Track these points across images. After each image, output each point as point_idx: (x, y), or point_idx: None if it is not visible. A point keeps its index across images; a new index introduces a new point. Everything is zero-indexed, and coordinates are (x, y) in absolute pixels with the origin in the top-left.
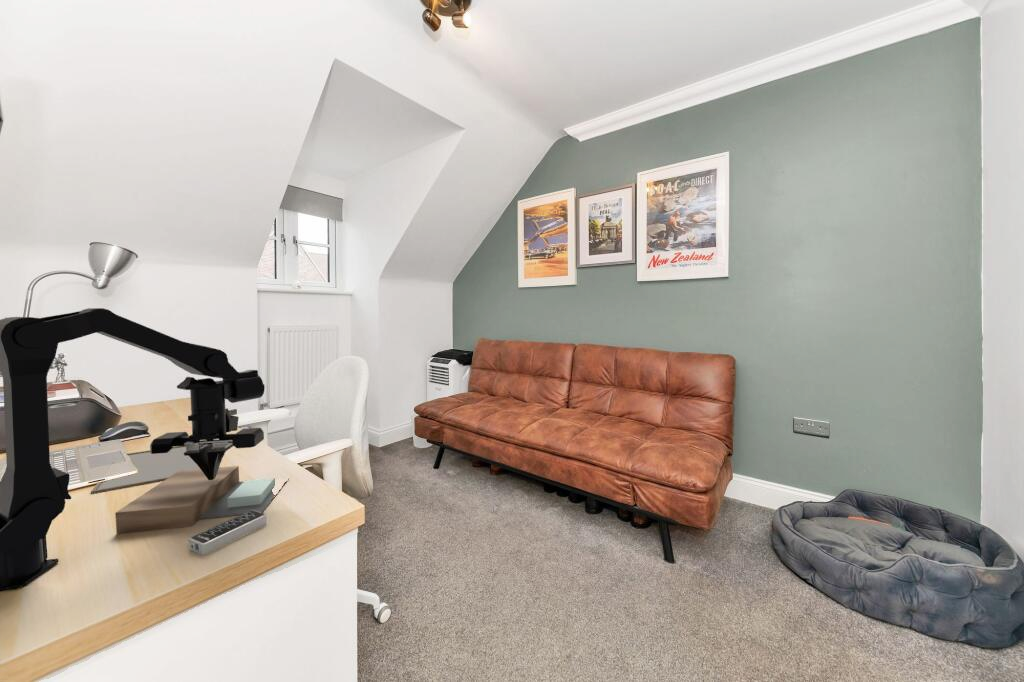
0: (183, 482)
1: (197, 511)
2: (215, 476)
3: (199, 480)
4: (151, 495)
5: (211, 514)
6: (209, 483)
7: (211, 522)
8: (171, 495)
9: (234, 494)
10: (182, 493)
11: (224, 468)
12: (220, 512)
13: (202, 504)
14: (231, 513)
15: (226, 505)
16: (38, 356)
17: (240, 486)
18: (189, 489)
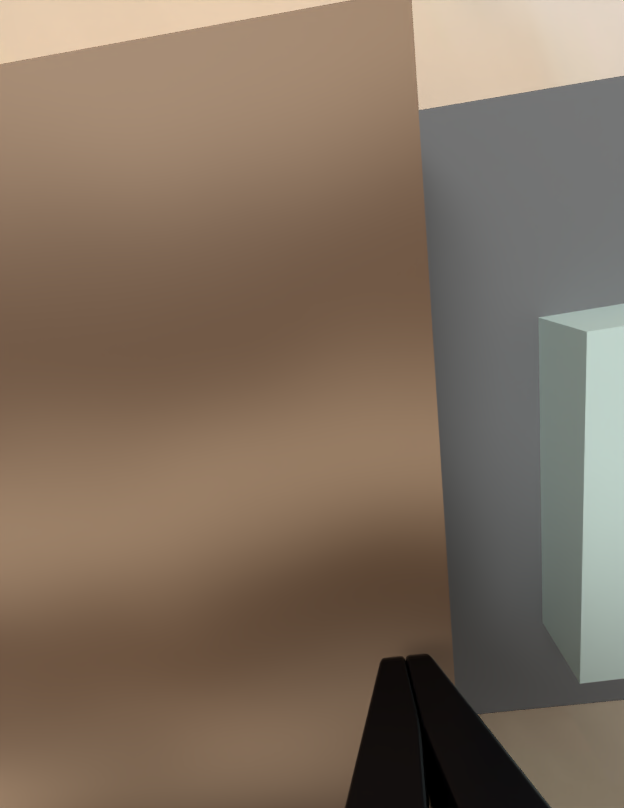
0: (46, 573)
1: None
2: (439, 671)
3: (188, 539)
4: (14, 791)
5: (481, 693)
6: (359, 614)
7: (515, 738)
8: (187, 799)
9: (608, 632)
10: (255, 781)
11: (230, 118)
12: (525, 676)
13: None
14: (600, 689)
15: (518, 597)
16: None
17: (598, 487)
18: (253, 717)
